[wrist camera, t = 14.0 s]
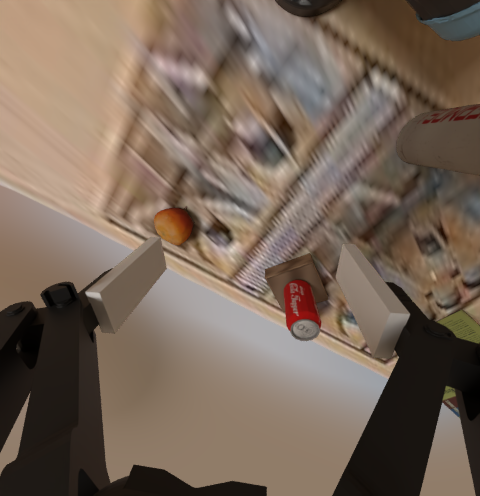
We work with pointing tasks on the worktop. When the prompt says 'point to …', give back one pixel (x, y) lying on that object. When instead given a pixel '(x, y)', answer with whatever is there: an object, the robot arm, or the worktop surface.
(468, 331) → the protein box
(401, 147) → the thermos bottle
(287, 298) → the soda can
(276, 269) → the walnut plinth
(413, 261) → the worktop surface
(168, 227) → the fruit
